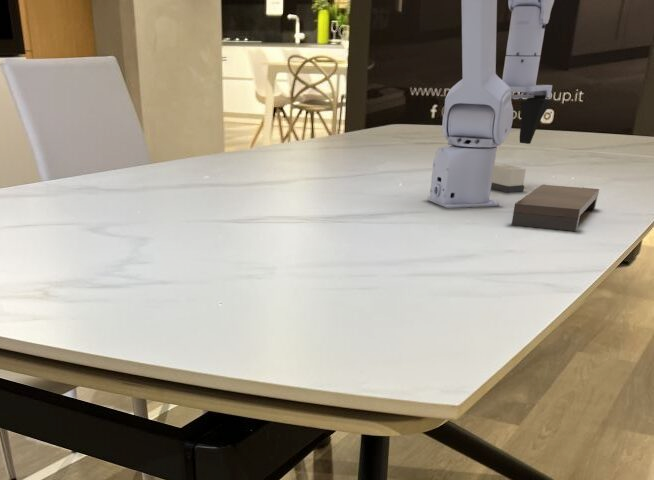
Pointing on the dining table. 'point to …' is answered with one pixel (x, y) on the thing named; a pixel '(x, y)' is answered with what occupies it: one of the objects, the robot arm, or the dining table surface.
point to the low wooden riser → (554, 207)
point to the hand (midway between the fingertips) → (509, 144)
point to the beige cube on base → (508, 178)
